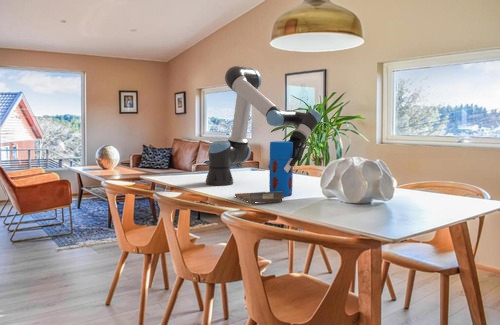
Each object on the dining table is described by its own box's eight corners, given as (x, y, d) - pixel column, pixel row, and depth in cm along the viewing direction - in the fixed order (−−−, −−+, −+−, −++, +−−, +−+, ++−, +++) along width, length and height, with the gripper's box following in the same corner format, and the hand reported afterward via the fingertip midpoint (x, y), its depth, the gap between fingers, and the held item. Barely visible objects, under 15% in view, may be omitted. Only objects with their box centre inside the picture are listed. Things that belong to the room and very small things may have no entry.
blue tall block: (284, 197, 201) (284, 142, 199) (264, 194, 207) (265, 141, 205) (296, 194, 210) (297, 141, 207) (277, 192, 216) (278, 141, 214)
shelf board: (235, 196, 201) (235, 187, 201) (264, 194, 207) (264, 185, 207) (251, 204, 184) (251, 193, 183) (283, 201, 190) (283, 191, 189)
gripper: (322, 141, 207) (298, 177, 199) (287, 140, 225) (264, 172, 216) (314, 130, 203) (290, 166, 195) (279, 129, 221) (256, 162, 212)
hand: (276, 169), depth 206 cm, fingers closed on blue tall block, 11 cm apart
